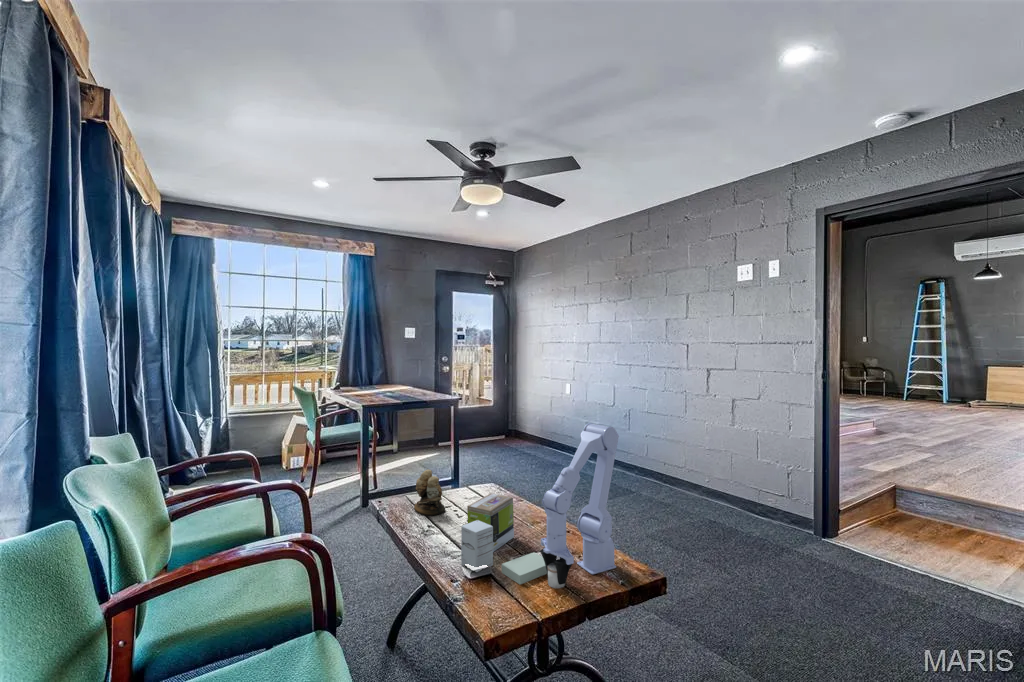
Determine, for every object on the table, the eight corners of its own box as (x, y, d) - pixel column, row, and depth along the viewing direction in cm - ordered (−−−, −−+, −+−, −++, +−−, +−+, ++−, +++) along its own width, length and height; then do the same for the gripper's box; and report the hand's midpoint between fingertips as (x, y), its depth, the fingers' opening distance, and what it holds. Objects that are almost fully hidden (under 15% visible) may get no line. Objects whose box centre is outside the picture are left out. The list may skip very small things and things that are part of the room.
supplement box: (460, 565, 149) (460, 525, 149) (478, 557, 154) (478, 519, 154) (475, 573, 144) (475, 532, 144) (493, 565, 149) (493, 525, 149)
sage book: (533, 561, 152) (533, 551, 152) (553, 572, 145) (553, 562, 145) (501, 573, 145) (501, 563, 144) (519, 586, 137) (519, 575, 137)
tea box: (491, 532, 174) (491, 492, 174) (514, 538, 169) (514, 496, 169) (466, 547, 162) (466, 504, 161) (491, 554, 156) (491, 510, 156)
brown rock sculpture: (452, 513, 194) (452, 472, 193) (425, 520, 187) (425, 477, 187) (433, 500, 208) (433, 462, 208) (408, 506, 202) (407, 466, 201)
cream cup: (559, 577, 141) (559, 561, 141) (569, 585, 137) (569, 568, 137) (544, 581, 139) (544, 564, 139) (553, 590, 134) (553, 572, 134)
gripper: (532, 525, 142) (532, 571, 142) (558, 544, 129) (558, 594, 129) (551, 521, 145) (552, 565, 145) (579, 539, 133) (579, 587, 133)
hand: (556, 578), depth 138 cm, fingers open, 5 cm apart
